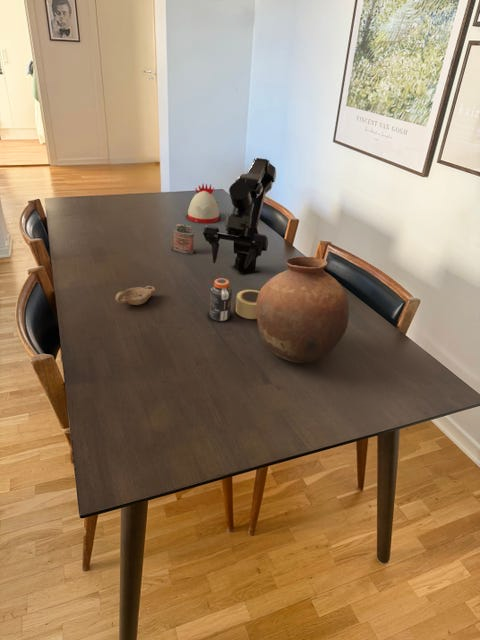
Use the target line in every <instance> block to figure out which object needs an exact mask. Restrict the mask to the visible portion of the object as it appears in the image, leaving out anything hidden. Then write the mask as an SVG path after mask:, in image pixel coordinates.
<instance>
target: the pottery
mask: <svg viewBox="0 0 480 640" xmlns="http://www.w3.org/2000/svg"><path fill="white" fill-rule="evenodd" d="M285 265H286V266H287V267H288V269H286V270H284V271H281V272H279V273H277V274H276V275H274V276H273V277H271V278H270V279H269V280H268V281H266V282H265V283H264V285H263V286H262V287H260V290H259V291H260V292H259V294H258V297H257V303H256V312H257V319H256V321H257V329H258V332H259V336H260V338H261V340H262V342H263V344H264V345H265V347H266V349H267V350H268V351H269V352H270V353H272V354H273V355H275V356H277V357H279V358H281V359H282V360H286V361H288V362H292V363H295V364H296V363H297V364H307V363H313V362H316V361H319V360H321V359H322V358H324V357H326V356H327V355H329V354H330V353H332V351H333V350H334V349H335V348H336V346H337V345H338V344H339V343H340V341H341V340H342V339H343V337H344V335H345V334H346V331H347V328H348V325H349V315H350V309H349V308H350V307H349V299H348V296H347V293H346V290H344V288H343V286H342V285H341V283H340V282H338V280H337V279H336V278H334V277H333V275H331V274H329V273H328V272H326V271H325V270H324V269H325V268H326V267H327V266H328V265H329V263H328V261H327V260H325V259H324V258H321V257H314V256H294V257H289V258H287V259H286V261H285Z"/></svg>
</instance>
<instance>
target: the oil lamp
mask: <svg viewBox="0 0 480 640" xmlns="http://www.w3.org/2000/svg"><path fill="white" fill-rule="evenodd" d="M155 292H156V288H155V287H154V286H153V285H146V286H145V287H141V286H138V287H130V288H129V287H128V288H126V289H124V291H119V292H117V293H116V295H115V301H116V302H117V303H118V304H125V303H127V304H128V305H131V306H139V305H143V304H145V303H146V302H147V301H148V300H149V299H150V298H151V296H152V295H153V294H154V293H155ZM122 295H123V296H122ZM121 296H122V299H120V297H121Z"/></svg>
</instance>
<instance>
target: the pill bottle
mask: <svg viewBox="0 0 480 640" xmlns="http://www.w3.org/2000/svg"><path fill="white" fill-rule="evenodd" d="M232 295H233V291H232V287H230V281H229V280H228V279H227V278H222V277H221V278H220V277H219V278H216V279H215V280H214V284H213V286H211V288H210V297H209V317H210V318H211V319H212V320H214V321H218V322H224V321H226V320H228V319H230V317H231V307H232Z"/></svg>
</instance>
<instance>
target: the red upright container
mask: <svg viewBox="0 0 480 640" xmlns="http://www.w3.org/2000/svg"><path fill="white" fill-rule="evenodd" d="M194 236H195V232H194V231H193V227H192V226H190V225H186V224H185V223H182V224H179V223H176V228H174V229H173V251H176V252H179V253H181V254H188V255H192V254H195V253H194V252H195V251H194Z"/></svg>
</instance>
